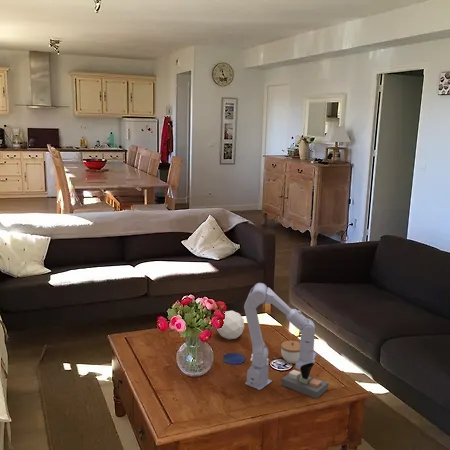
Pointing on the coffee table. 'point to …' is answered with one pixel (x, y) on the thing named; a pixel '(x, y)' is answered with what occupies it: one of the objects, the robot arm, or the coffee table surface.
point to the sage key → (305, 380)
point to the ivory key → (294, 374)
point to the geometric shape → (232, 325)
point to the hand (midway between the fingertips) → (305, 378)
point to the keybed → (305, 386)
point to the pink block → (315, 383)
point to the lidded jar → (290, 351)
